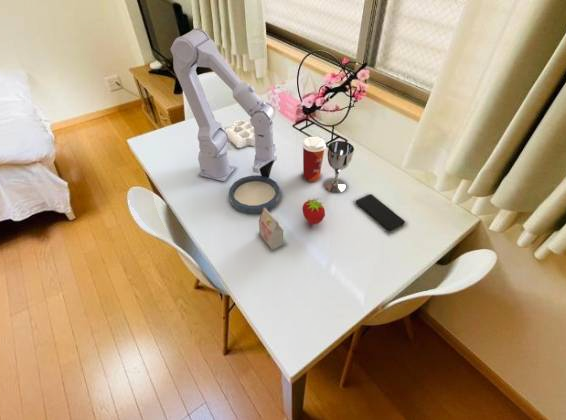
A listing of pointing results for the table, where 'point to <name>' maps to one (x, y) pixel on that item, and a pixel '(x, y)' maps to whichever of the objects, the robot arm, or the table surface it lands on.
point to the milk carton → (270, 230)
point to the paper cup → (312, 157)
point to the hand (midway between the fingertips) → (265, 178)
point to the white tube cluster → (241, 134)
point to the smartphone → (380, 212)
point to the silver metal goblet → (338, 163)
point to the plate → (254, 194)
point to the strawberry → (313, 211)
